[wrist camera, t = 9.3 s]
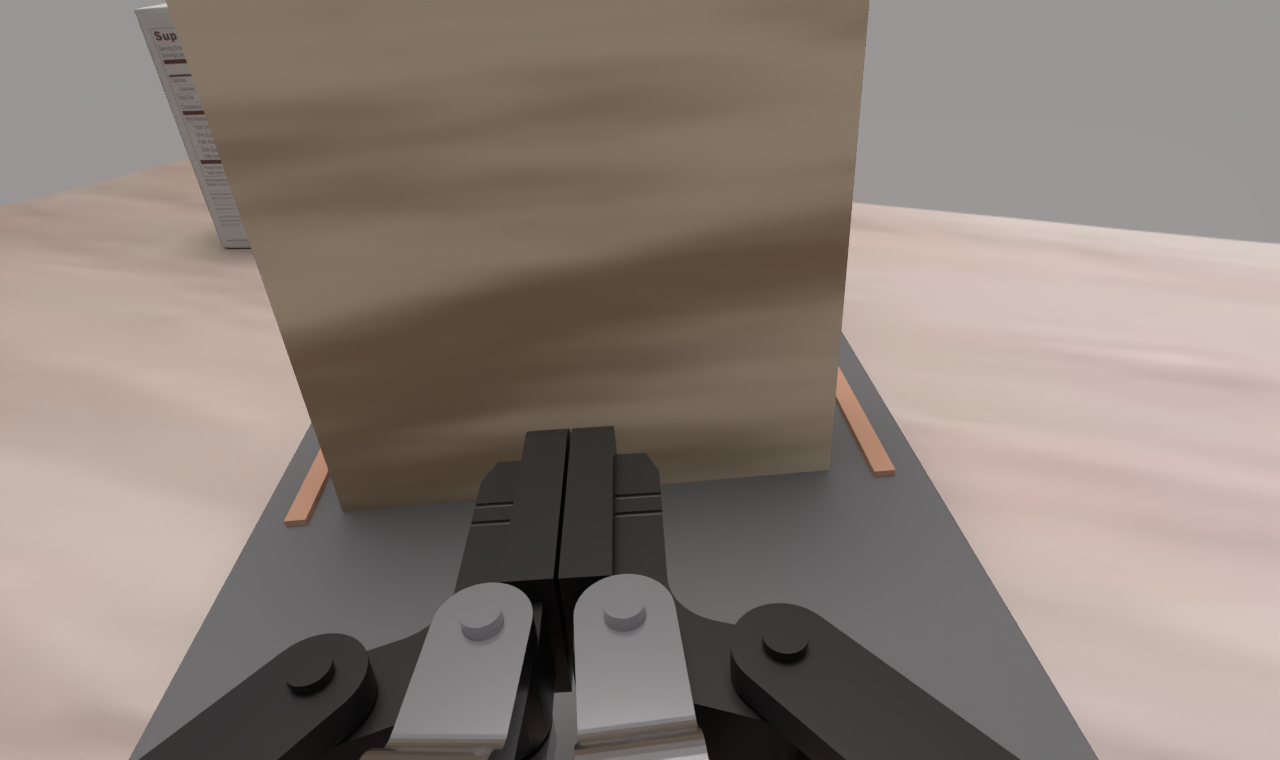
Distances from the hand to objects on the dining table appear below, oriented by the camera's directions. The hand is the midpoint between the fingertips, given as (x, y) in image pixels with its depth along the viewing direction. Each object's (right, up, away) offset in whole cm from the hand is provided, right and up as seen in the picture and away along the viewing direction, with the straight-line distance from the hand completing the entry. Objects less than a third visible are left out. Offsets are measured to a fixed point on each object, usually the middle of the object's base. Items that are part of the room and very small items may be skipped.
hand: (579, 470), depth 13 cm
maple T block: (-1, +1, +14) cm, 14 cm away
